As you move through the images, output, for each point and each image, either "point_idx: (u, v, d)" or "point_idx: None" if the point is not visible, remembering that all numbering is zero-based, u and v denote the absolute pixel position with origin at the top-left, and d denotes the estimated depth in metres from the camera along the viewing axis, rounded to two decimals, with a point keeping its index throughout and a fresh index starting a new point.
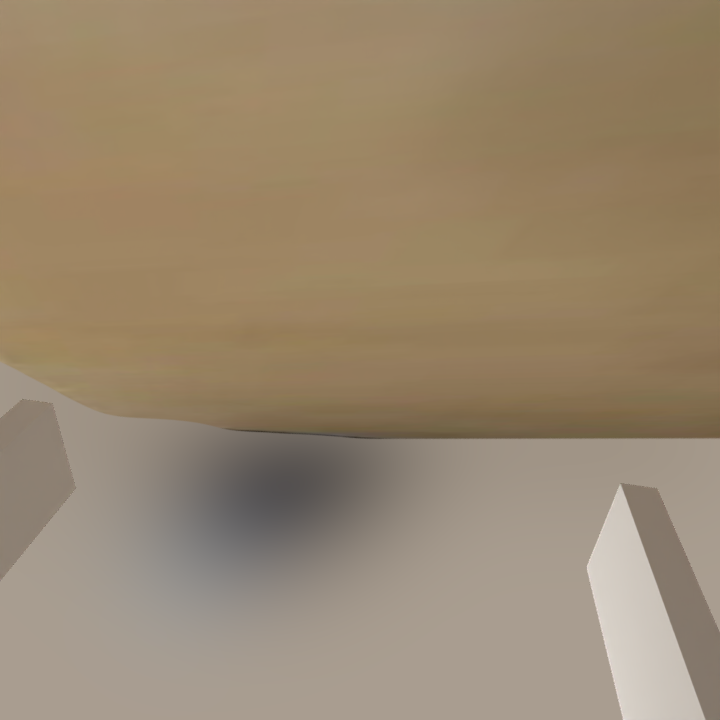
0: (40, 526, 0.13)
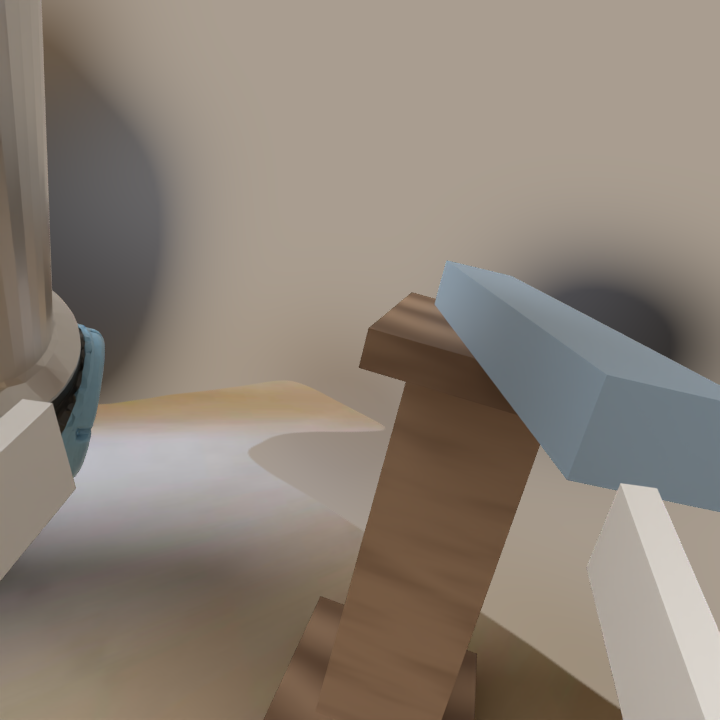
0: (41, 526, 0.13)
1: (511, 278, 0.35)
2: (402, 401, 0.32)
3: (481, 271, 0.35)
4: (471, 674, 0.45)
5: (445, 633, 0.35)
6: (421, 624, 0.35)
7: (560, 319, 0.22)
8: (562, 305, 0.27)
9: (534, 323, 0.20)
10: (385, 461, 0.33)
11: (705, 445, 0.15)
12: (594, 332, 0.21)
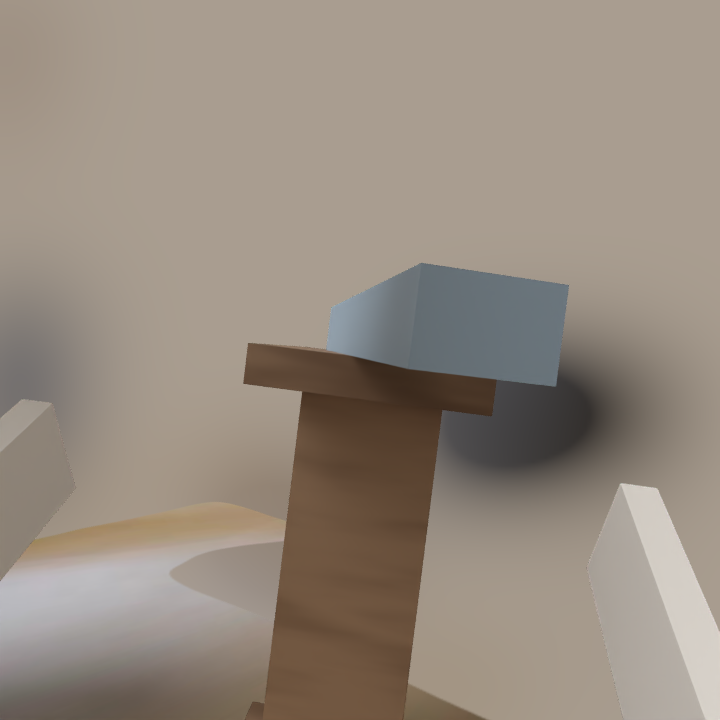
0: (40, 526, 0.13)
1: None
2: (299, 430, 0.32)
3: None
4: None
5: (380, 685, 0.32)
6: (353, 679, 0.32)
7: None
8: None
9: (382, 283, 0.22)
10: (290, 497, 0.32)
11: (522, 321, 0.16)
12: None
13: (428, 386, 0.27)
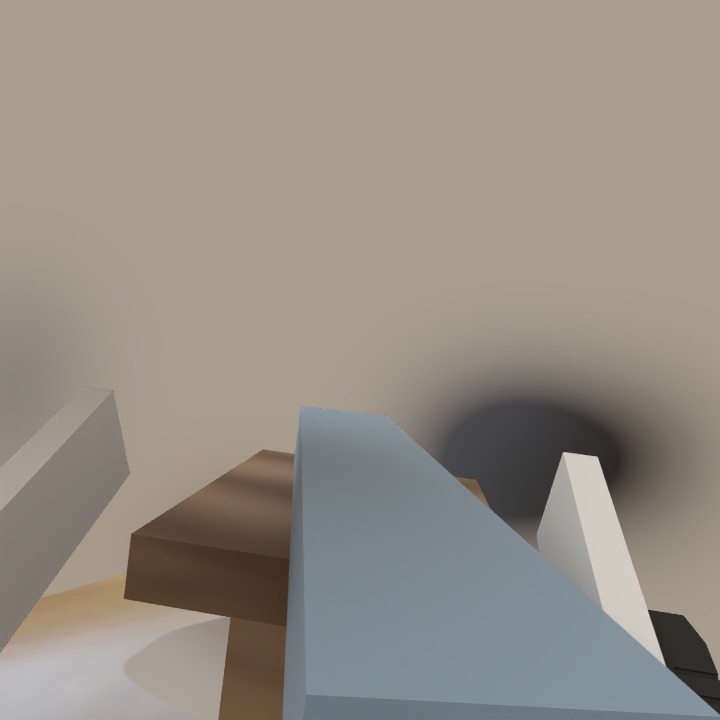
0: (100, 509, 0.14)
1: (379, 419, 0.28)
2: (233, 620, 0.22)
3: (339, 415, 0.28)
4: None
5: None
6: None
7: (379, 490, 0.14)
8: (417, 455, 0.19)
9: (303, 515, 0.11)
10: (220, 717, 0.22)
11: None
12: (423, 509, 0.13)
13: None
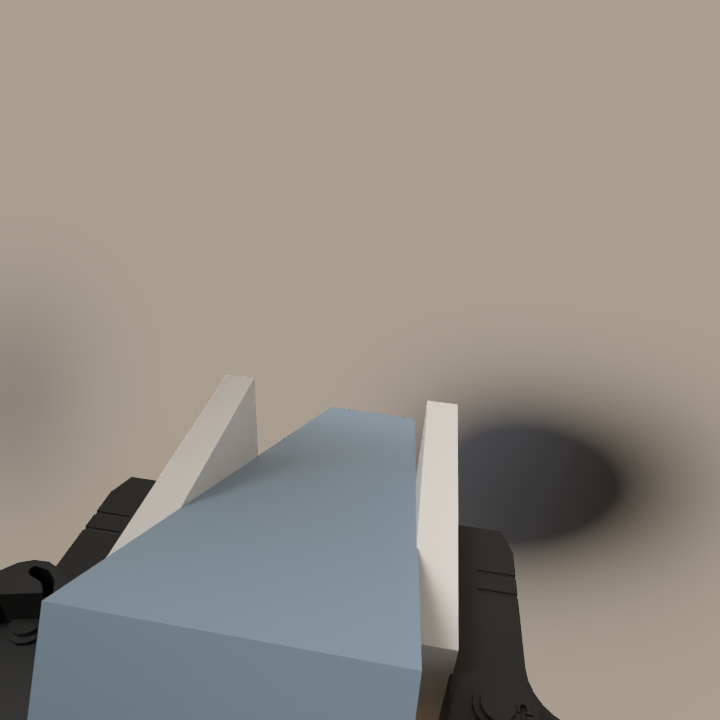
0: None
1: (402, 421, 0.28)
2: None
3: (362, 416, 0.28)
4: None
5: None
6: None
7: (317, 475, 0.15)
8: (401, 452, 0.20)
9: (213, 486, 0.12)
10: None
11: None
12: (342, 492, 0.13)
13: None
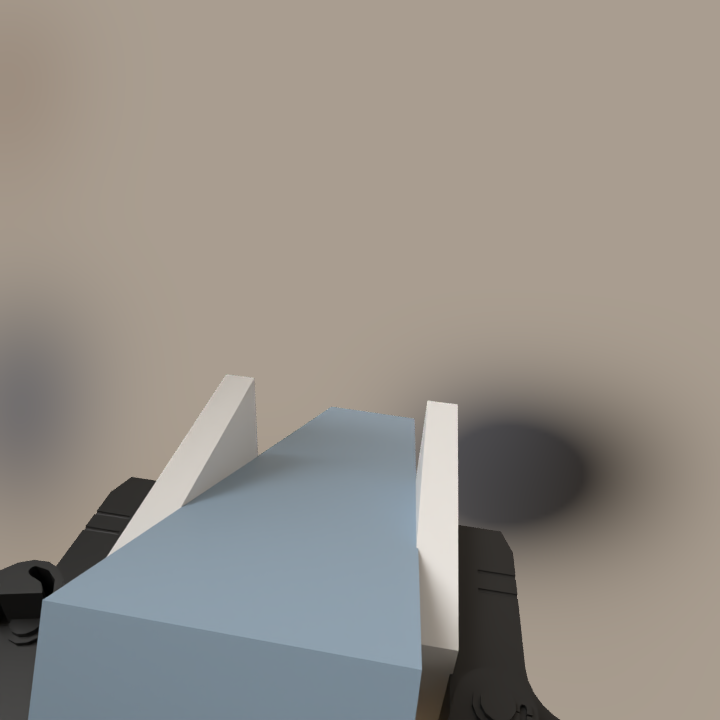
0: None
1: (402, 421, 0.28)
2: None
3: (362, 416, 0.28)
4: None
5: None
6: None
7: (317, 474, 0.15)
8: (401, 451, 0.20)
9: (213, 486, 0.12)
10: None
11: None
12: (342, 492, 0.13)
13: None
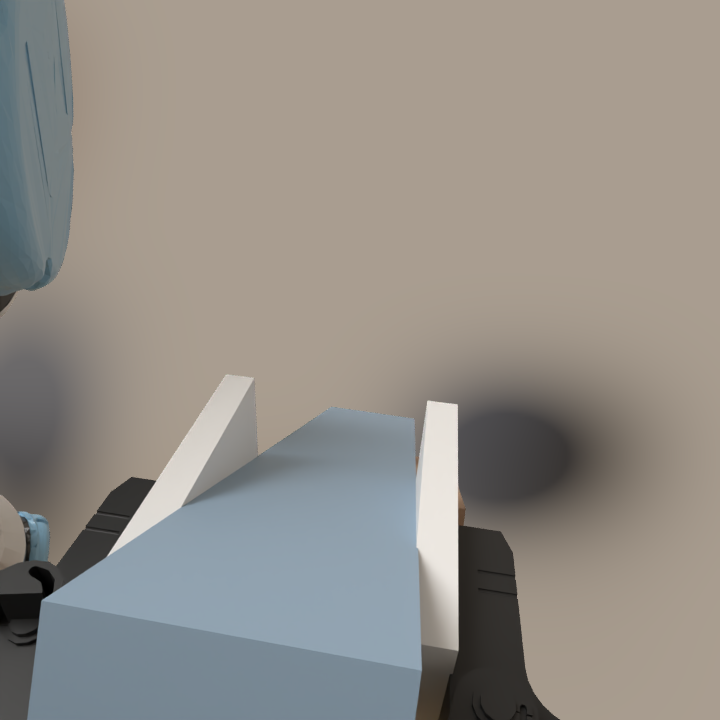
0: None
1: (402, 421, 0.28)
2: None
3: (362, 416, 0.28)
4: None
5: None
6: None
7: (317, 474, 0.15)
8: (401, 451, 0.20)
9: (213, 486, 0.12)
10: None
11: None
12: (342, 492, 0.13)
13: None
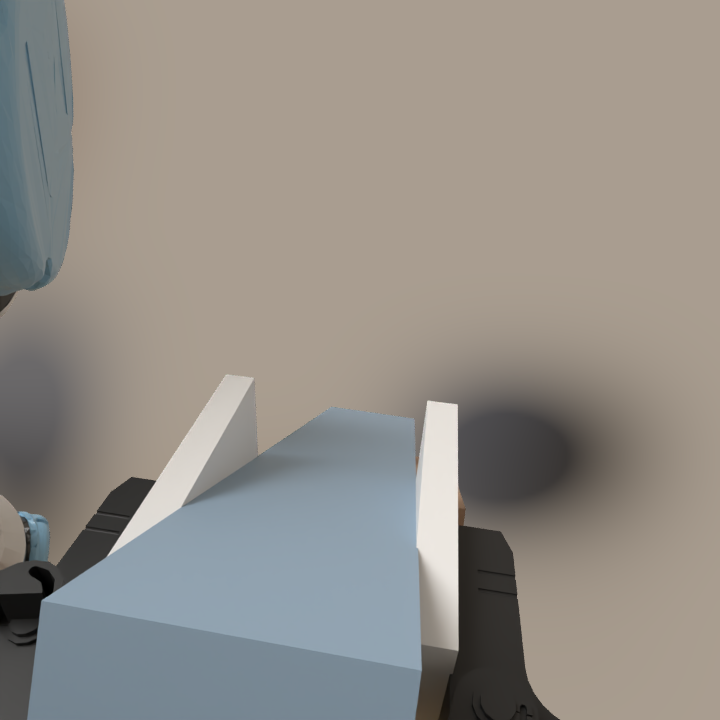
0: None
1: (402, 421, 0.28)
2: None
3: (362, 416, 0.28)
4: None
5: None
6: None
7: (317, 474, 0.15)
8: (401, 451, 0.20)
9: (213, 486, 0.12)
10: None
11: None
12: (342, 492, 0.13)
13: None
